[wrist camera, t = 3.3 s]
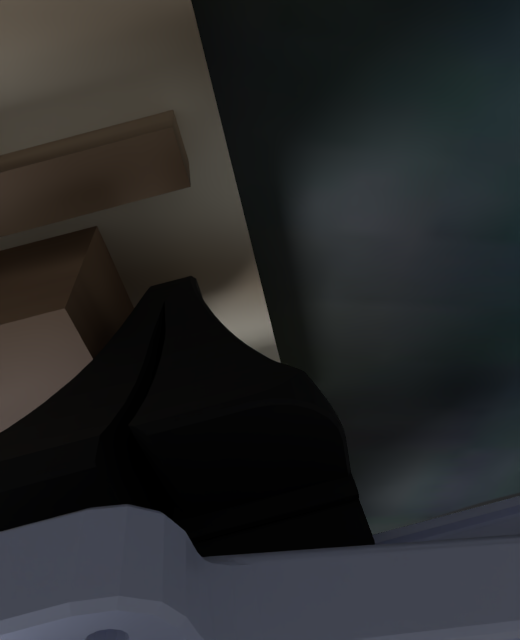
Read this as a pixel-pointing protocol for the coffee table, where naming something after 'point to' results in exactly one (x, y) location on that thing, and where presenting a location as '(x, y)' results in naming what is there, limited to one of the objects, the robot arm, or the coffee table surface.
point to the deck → (125, 149)
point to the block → (54, 316)
